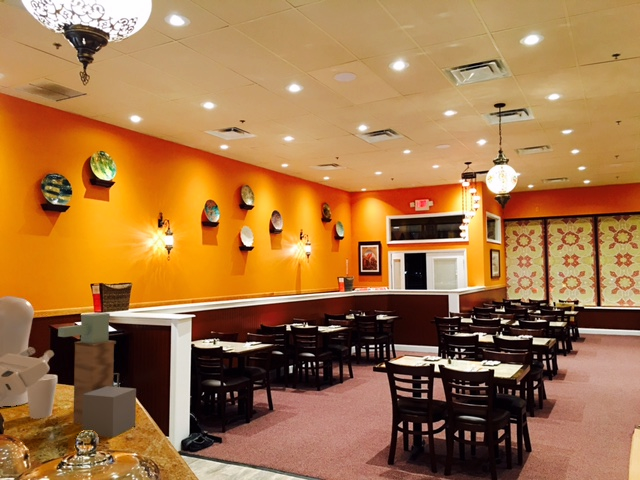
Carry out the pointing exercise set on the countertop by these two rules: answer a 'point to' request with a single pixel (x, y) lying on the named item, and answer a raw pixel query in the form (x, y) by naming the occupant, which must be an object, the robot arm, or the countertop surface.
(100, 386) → the stand
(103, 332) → the green mallet
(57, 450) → the countertop surface
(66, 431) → the countertop surface
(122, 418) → the riser
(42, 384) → the foam cup
